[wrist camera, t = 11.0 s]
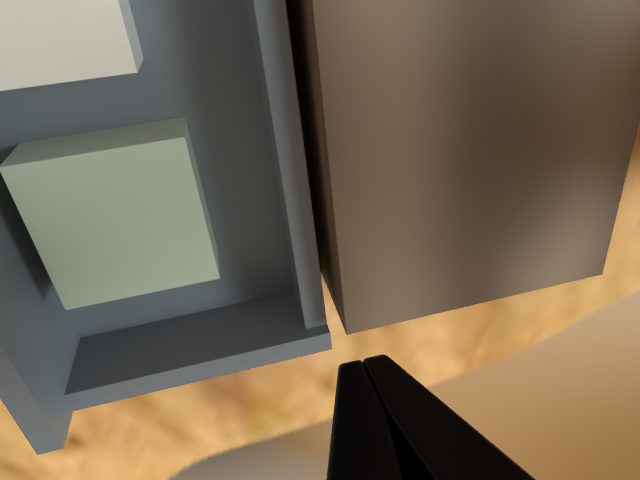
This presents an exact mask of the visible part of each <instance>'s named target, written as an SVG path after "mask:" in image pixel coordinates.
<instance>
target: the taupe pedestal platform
mask: <svg viewBox="0 0 640 480" xmlns="http://www.w3.org/2000/svg"><path fill="white" fill-rule="evenodd" d="M287 4H288V12H289V20H290V28H291V36H292V44H293V51H294V59H295V67H296V75H297V83H298V91H299V99H300V107H301V114H302V122H303V130H304V138H305V146H306V154H307V162H308V170H309V178H310V185H311V193H312V201H313V209H314V217H315V225H316V233H317V241H318V248H319V256H320V264H321V272H322V274H323V277H324V279H325V282H326V284H327V287H328V289H329V292H330V294H331V297H332V299H333V302H334V304H335V307H336V309H337V312H338V314H339V317H340V319H341V322H342V324H343V327H344V329H345V332H346V334H347V335H348V334H352V333H356V332H360V331H364V330H369V329H373V328H377V327H381V326H386V325H390V324H394V323H398V322H403V321H407V320H411V319H415V318H419V317H424V316H428V315H432V314H436V313H441V312H445V311H449V310H453V309H458V308H462V307H466V306H470V305H474V304H479V303H483V302H487V301H491V300H496V299H500V298H504V297H508V296H513V295H517V294H521V293H525V292H529V291H534V290H538V289H542V288H546V287H551V286H555V285H559V284H563V283H567V282H572V281H576V280H580V279H584V278H589V277H593V276H597V275H601V274H602V273H603V269H604V265H605V261H606V256H607V252H608V248H609V244H610V240H611V236H612V231H613V227H614V223H615V219H616V215H617V211H618V206H619V202H620V198H621V194H622V190H623V186H624V181H625V177H626V173H627V169H628V165H629V161H630V156H631V152H632V148H633V144H634V140H635V136H636V131H637V127H638V123H639V119H640V0H287Z"/></svg>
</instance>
